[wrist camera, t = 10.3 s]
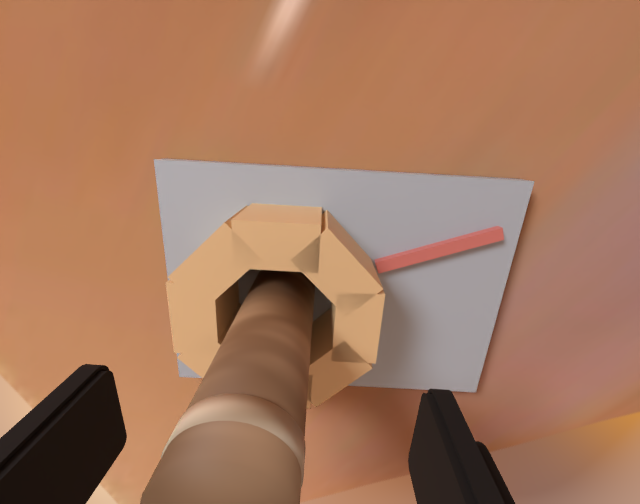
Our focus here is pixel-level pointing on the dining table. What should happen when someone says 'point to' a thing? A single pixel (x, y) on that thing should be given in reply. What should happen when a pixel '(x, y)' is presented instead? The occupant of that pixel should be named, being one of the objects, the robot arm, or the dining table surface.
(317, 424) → the dining table surface
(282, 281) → the brown banded cylinder
